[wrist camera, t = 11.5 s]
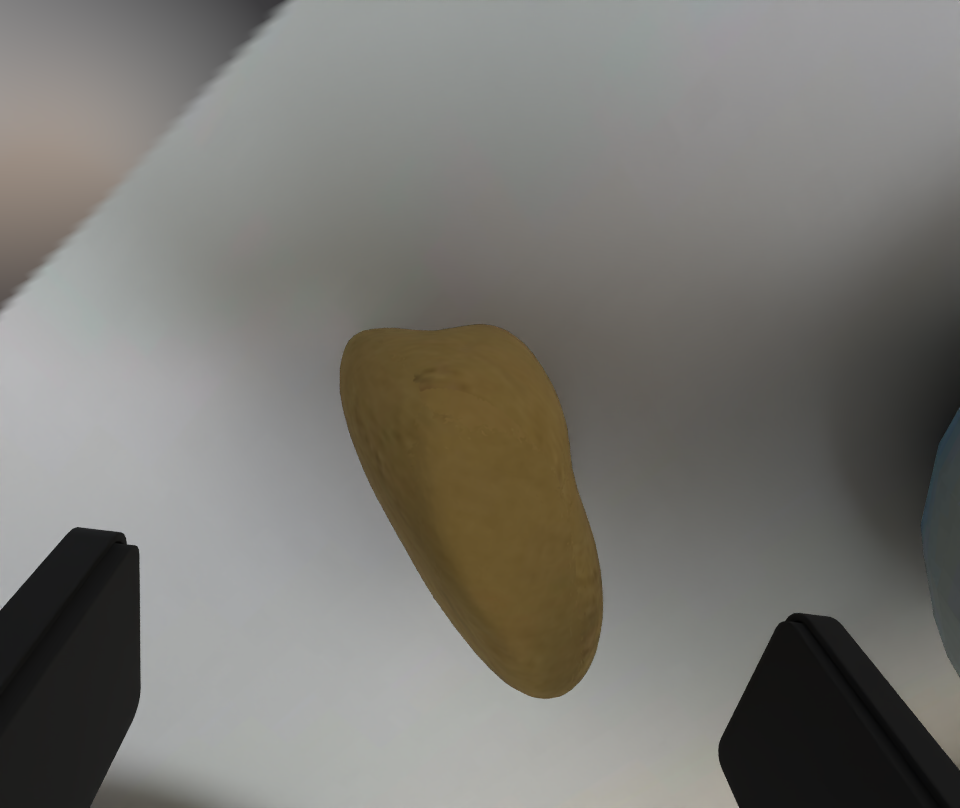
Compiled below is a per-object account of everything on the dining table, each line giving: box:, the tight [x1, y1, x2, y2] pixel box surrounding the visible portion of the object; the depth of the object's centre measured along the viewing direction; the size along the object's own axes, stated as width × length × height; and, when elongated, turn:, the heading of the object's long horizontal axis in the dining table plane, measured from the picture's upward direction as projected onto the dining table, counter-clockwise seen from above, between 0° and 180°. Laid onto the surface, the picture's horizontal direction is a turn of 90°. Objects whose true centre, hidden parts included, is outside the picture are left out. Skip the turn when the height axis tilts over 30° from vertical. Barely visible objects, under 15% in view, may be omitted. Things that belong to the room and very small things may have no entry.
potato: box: [340, 324, 603, 699], centre depth 14 cm, size 7×8×8 cm
